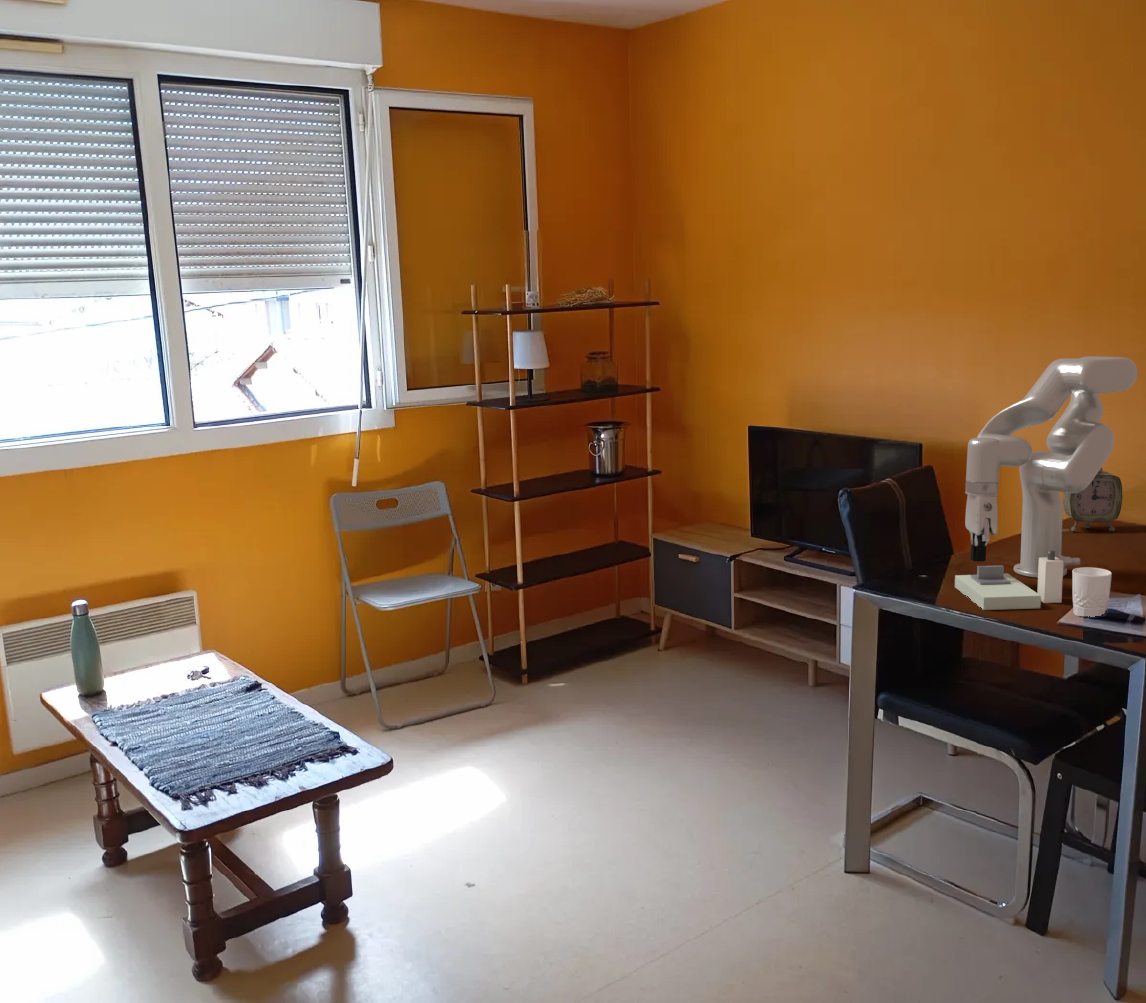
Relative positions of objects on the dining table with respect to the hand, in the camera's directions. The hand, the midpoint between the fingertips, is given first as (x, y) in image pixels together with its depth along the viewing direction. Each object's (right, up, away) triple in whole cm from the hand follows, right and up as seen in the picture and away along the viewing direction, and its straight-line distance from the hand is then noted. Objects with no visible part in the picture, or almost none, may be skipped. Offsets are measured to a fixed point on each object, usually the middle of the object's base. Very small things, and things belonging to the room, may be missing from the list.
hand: (977, 560), depth 259 cm
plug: (+12, -9, -14) cm, 20 cm away
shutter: (+1, -5, -6) cm, 7 cm away
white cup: (+15, -11, -25) cm, 32 cm away
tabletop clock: (+55, +6, +55) cm, 78 cm away
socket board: (+1, -8, -9) cm, 12 cm away
